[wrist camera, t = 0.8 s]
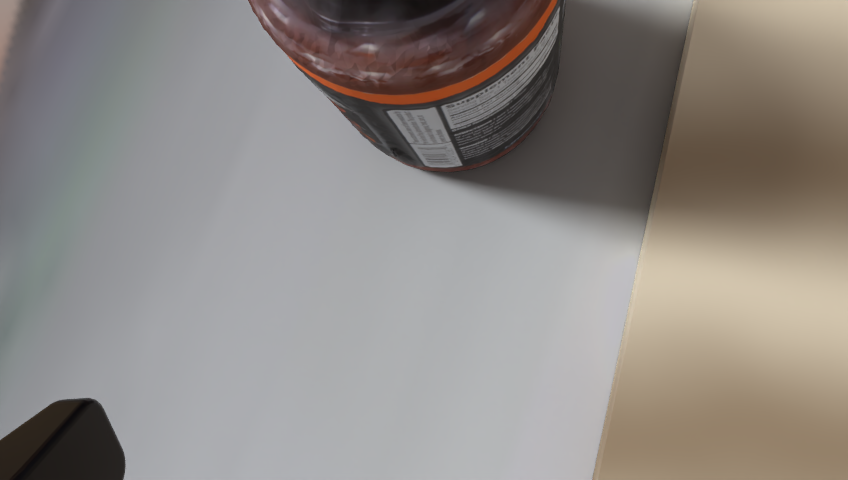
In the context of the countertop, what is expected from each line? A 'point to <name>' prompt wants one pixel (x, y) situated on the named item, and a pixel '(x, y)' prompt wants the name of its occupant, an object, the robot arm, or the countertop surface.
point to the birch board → (743, 259)
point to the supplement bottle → (427, 70)
